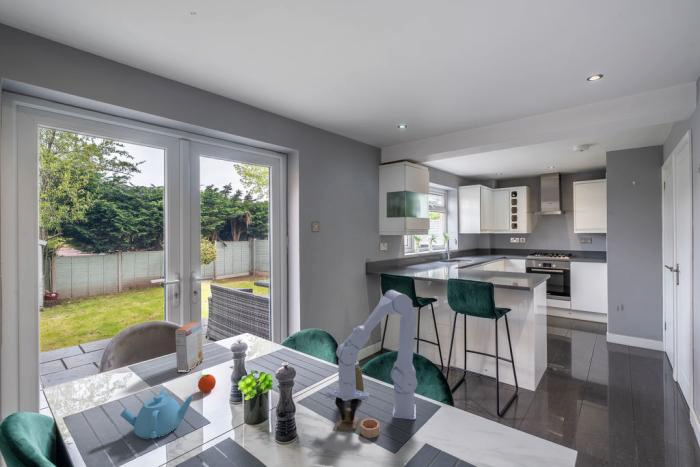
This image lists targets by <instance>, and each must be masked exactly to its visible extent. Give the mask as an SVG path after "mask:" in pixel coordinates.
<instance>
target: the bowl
mask: <svg viewBox="0 0 700 467" xmlns="http://www.w3.org/2000/svg"><path fill="white" fill-rule="evenodd" d="M380 424H381V423H380V422H379V421H378V420H377V419H375V418H369V417H368V418H365V419H363V420H362V421H361V425H360V431H359V432H360V434H361V435H362V436H363V437H364V438H369V439H370V438H376V437H378V436H379V435H380V431H381V429H380V426H381V425H380Z"/></svg>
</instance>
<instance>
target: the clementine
mask: <svg viewBox="0 0 700 467" xmlns="http://www.w3.org/2000/svg"><path fill="white" fill-rule="evenodd" d="M199 378H200V379H199ZM197 380H198V382H197V388H198V389H199V391H200V392H202V393H209V392H211V391H212V390H214V388H215V387H216V385H217V384H216V382H217V381H216V377H215V376H214V375H212V374H202V375H201V376H200V377H198V378H197Z"/></svg>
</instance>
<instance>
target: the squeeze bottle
mask: <svg viewBox="0 0 700 467" xmlns="http://www.w3.org/2000/svg"><path fill="white" fill-rule="evenodd" d="M355 381H356V390H358V391H361V392H365V388H364V379H363V371H362V367H361V366H360V362H359V361H358V360H356V361H355ZM351 400H352V399H348V402H351Z"/></svg>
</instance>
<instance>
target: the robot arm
mask: <svg viewBox="0 0 700 467" xmlns="http://www.w3.org/2000/svg"><path fill="white" fill-rule="evenodd" d="M395 314H397V315H398V316H399V317H400V324H399V334H398V346H397V358H396V361H394V362H393V368H392V369H391V371H390V378H391V380H392V381H393V403H394V404H393V409H392V410H393V411H392V418H397V419H404V420H405V419H407V420H412V421H413V420H414V421H415V420H416V418H417V417H416V416H417V405H416V404H415V390H416V388H417V386H418V378H417V377H416V375H417V371H416V368H415V367H414V366H415V365H414V364H413V358H414V346H415V334H416V333H415V332H416V320H417V311H416V309H415V308H414V305H413V299H412V298H410V297H409V296H408V295H407V294H405V293H401V292H398V291H397V290H395V289H390V290H387V291H386V292H385V294H384V295H383V296H381V297H380V300H379V302H378V303H377V305H376V307H375V308H374V309H373V311H372V312H371V314H369V316H368V318H367V319H366V320H365V322H364V323H363V324H362V325H358V326H356V327H354V328H353V329H352V333H351V334H350V335H349V336H348V337H347V339H345V340H344V341H343V343H340V344H339V345H338V346H337V348H336V351H335V354H336V356H337V358H338V360H337V361H338V389H335V388H334V389H327V391H326V393H325V395H326V399H330V398H335V401H334V404H335V405H336V407H337V409H338V411H339V414H340V416H341V418H342V421H344V409H346V401H348V402H349V400H348V399H352V400H351V401H350V403H349V406H350V408H351V421H354V417H356V416H355V415H356V414H355V413H356V411H357V410H356V409H357V407H358V404H359V402H360V401H361V400H362V401H365V402H369V400H370V393H369V392H366V391H364V392H361V391H358V390H356V381H355V361H358V356H359V355H358V354H359V352H360V350H362V348H363V347H364V346H365V345H366V343H367V342H368V341H369V340H370V338H371V332H372V331H373V330H374V328H376V326H377V325H378V324H379V323H380V322H381V321H382V320H383V319H384V318H385V316H387V315H389V316H390V315H395Z"/></svg>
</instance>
